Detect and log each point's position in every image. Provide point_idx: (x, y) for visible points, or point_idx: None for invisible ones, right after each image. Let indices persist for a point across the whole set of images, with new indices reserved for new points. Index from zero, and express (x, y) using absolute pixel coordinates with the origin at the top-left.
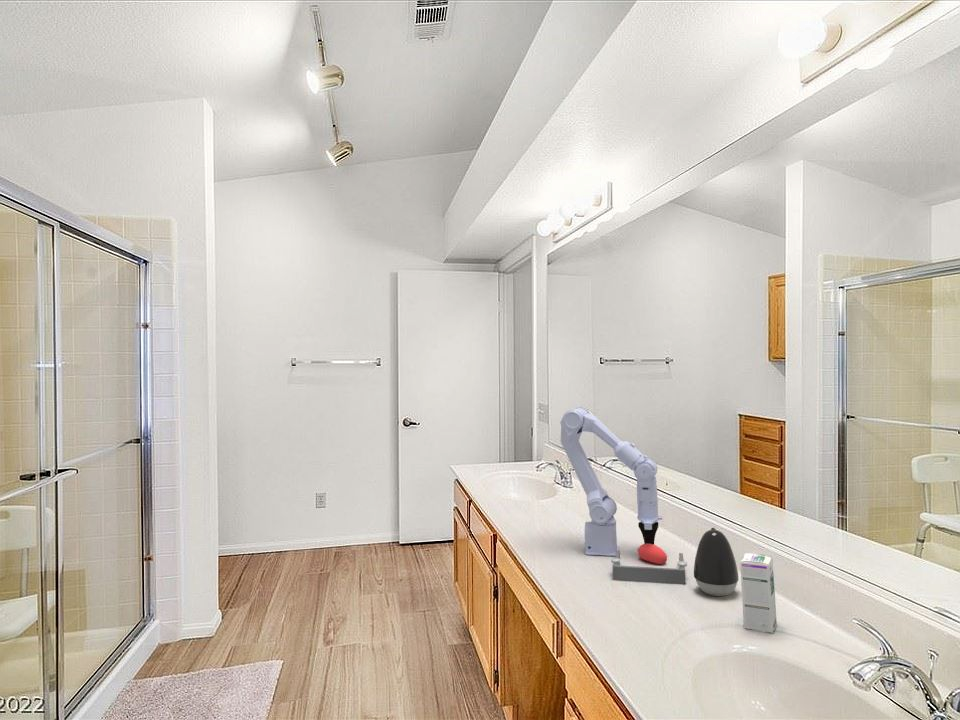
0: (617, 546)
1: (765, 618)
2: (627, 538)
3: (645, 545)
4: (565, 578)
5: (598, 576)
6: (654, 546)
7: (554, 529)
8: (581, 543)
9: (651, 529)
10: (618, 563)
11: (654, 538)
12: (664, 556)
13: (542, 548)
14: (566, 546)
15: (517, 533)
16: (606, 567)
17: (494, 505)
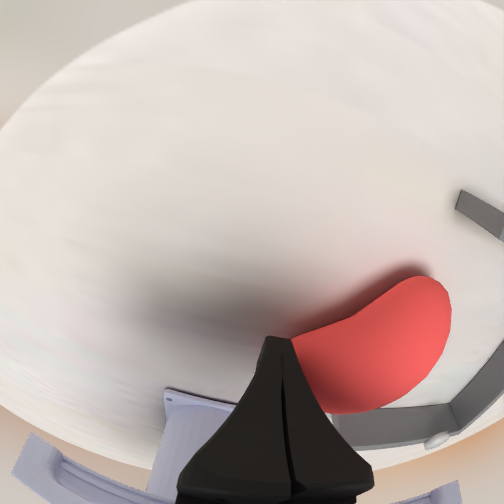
0: (163, 394)
1: None
2: (45, 323)
3: (370, 410)
4: (392, 456)
5: None
6: (416, 381)
7: (66, 418)
8: (140, 428)
9: (457, 481)
10: (411, 426)
11: (313, 394)
12: (450, 306)
13: None
14: None
15: (116, 457)
16: None
17: (17, 412)
